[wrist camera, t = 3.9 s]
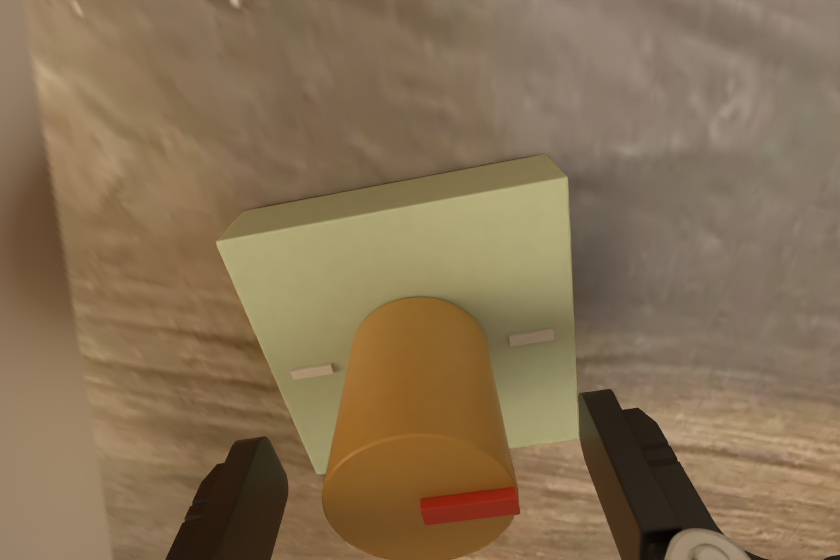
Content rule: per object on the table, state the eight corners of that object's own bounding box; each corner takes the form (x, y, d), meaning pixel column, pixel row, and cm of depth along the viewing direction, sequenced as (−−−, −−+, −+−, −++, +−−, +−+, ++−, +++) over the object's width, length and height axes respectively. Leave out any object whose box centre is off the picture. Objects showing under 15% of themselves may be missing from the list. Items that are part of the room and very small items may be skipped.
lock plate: (327, 426, 21) (315, 479, 18) (242, 210, 16) (212, 244, 13) (561, 392, 20) (581, 443, 17) (546, 153, 15) (570, 178, 13)
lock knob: (369, 413, 17) (348, 586, 12) (335, 308, 15) (291, 463, 10) (494, 394, 16) (529, 565, 11) (478, 284, 14) (511, 433, 9)
